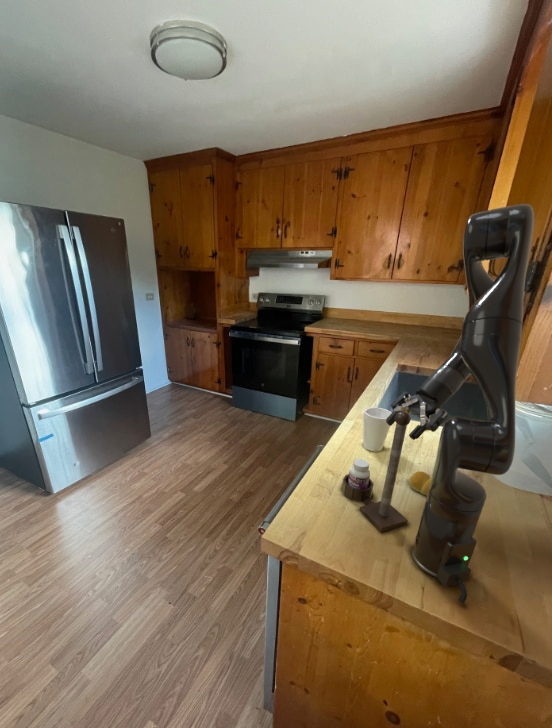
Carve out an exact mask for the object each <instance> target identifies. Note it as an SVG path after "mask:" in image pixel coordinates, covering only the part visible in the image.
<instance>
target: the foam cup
mask: <svg viewBox="0 0 552 728" xmlns="http://www.w3.org/2000/svg"><path fill="white" fill-rule="evenodd" d="M392 412H393V411H390V410H388V409H386V408H384V407H383V408H382V407H376V406H375V407H374V406H373V407H367V408H364V410H363V415H362V418H363V419H362V420H363V423H362V425H363V427H362V429H363V431H362V433H363V434H362V444H363V445H362V446H363V448H365V449H366V450H368V451H370V452H381V451H382V450H383V449H384V446H385V443H386V440H387V437H388V434H389V432H390V428H391V426H390V425H388V424H387V423H386V419H387V418H388V417H389V416H390V414H391V413H392Z"/></svg>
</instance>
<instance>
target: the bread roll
mask: <svg viewBox="0 0 552 728" xmlns="http://www.w3.org/2000/svg"><path fill="white" fill-rule="evenodd" d="M431 479H432V476H430V475H429V474H428V473H427V472H425V471H416V472H414V473H412V474H411V475H409V477H408V478H407V483H408V485H409V486H410V487H411V489H413V490H414V491H416V492H418V493H421V494H422V495H424V496H426V497H427V494H428V490H429V487H430V483H431Z"/></svg>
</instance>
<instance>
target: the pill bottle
mask: <svg viewBox="0 0 552 728" xmlns="http://www.w3.org/2000/svg"><path fill="white" fill-rule="evenodd" d="M348 472H349V473H348V474H349V478H348V485H349V486H351V487H353V488H355V489H361V490H364V489H368V483H369V478H370V479H371V471H370V463H369V462H368V461H367V460H366V459H363V458H356V459H354V460H353V464H352V466H351V467H350V468H349V471H348Z"/></svg>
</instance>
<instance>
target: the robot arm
mask: <svg viewBox="0 0 552 728" xmlns="http://www.w3.org/2000/svg"><path fill="white" fill-rule="evenodd" d="M534 228H535V212H534V209H533V207H532V205H531V204H528V203H519V204H513V205H508V206H502V207H497V208H494V209H493V208H492V209H488V210H482V211H478V212H475V213H472V214H471V215H470V216H469V217H468V218H467V220H466V222H465V226H464V229H463V235H462V258H463V267H464V273H465V274H464V275H465V282H466V286H467V287H466V289H467V294H468V311H467V312H466V314H465V315H464V318H463V320H462V327H461V333H460V334H461V335H460V336H459V339H458V341H457V343H456V345H455V347H454V349H453V350H452V351H451V354H450V355H449V356H448V357H447V358H446V359H445V360H444V361H443V362H442V363H441V365H440V366H439V367H438V368H436V369H435V370H433V372H432V373H431V374H430V375H429V376H428V377H427V379H425V380H424V382H423V383H422V384H421V385H420V386H419V387H418V388H417V390H416V393H415V394H414V395H410V394H409V392H407V391H404V392H402V393H401V394H400V395H399V396H398V397H397V398H396V399H395V400H394V401H392V403H391V404H390V408H391V409H392V411H391V412H392V413H391V414H390V416H389V417H388V418H387V419H386V423H387V424H388V425H390V427H391V426H393V425H394V424H395V423H396V422H395V416H396V414H397V413H399V412H406V413H408V414H409V415H410V414H412V415H414V416H416V417H417V418H418V419H419V420H420V421H419V424H417V425H416V426H415V427H414V428H413V429H412V430H411V432H410V433H409V434H408V436H409V438H410V439H411V440H413V441H415V440H418V439H419V438H420V437H422V435H423V434H424V433H425V432H426V431H430V432H432V433H435V432H436V431H437V430H438V429H439V428H440V427H441V425H442V424H443V423H444V424H443V426H442V427H441V428H442V429H441V431H440V435H439V439H438V447H437V453H436V456H435V457H436V458H435V460H434V461H435V462H434V465H433V470H432V474H431V477H432V479H431V483H430V487H429V490H428V494H427V496H426V497H425V498H426V499H425V501H424V506H423V510H422V514H421V517H420V521H419V525H418V529H417V533H416V535H415V538H414V541H413V543H414V544H413V547H412V551H411V556H412V559H413V561H414V563H415V564H416V565H417V567H418V568H420V569H421V570H422V571H423V572H425V573H426V574H428V575H430V576H432V577H433V578H435V579H437V581H438V582H440V583H441V584H442V586H444V588H448V587H452V586H456V585H458V588H459V589H460V595H459V596H458V598H457V601H458V602H459V603H461V604H464V603H465V601H467V598H468V591H467V588H466V585H465V583H467V582H468V580H469V577H470V574H471V572H472V569H471V568H470V567H469V566H470V563H471V559H472V557H473V554H474V551H475V549H476V546H477V543H478V541H477V539H476V538H475V537H474V535H475V531H476V528H477V526H478V523H479V520H480V518H481V514H482V512H483V509H484V506H485V503H486V501H487V491H486V489H485V488H484V486H483V485H482V484H481V483H480V482H479V481H478V480H476V479H475V478H473V477H472V476H470V475H468V474H466V473H464V472H463V471H461V470H466V471H473V472H477V473H483V474H489V475H494V476H503V475H505V474H506V473H507V472H508V471H509V470H510V468H511V466H512V464H513V461H514V456H515V451H516V388H517V387H516V386H517V376H518V367H519V366H518V365H519V357H520V351H521V344H522V333H523V320H524V319H523V317H524V298H525V287H526V276H527V270H528V266H529V265H528V263H529V260H530V254H531V253H530V252H531V246H532V241H533V234H534ZM501 259H506V261H505V264H504V266H503V267H502V269H501V271H500V272H499V274H498V275H497V277H496V278H495V279H493V277H491V276H490V275H489V273H488V272H487V270H486V269H485V267H484V265H483V262H484V261H492V260H493V261H494V260H501ZM470 376H472V378H473V379H474V381H475V382H476V384H477V386H478V388H479V389H480V392H481V393H482V396H483V398H484V402H485V406H486V413H487V420H482V419H474V418H467V417H459V416H451V417H449V413H448V412H447V410H446V409H445V408H443V407H444V405H446V404H447V402H448V401H449V400H450V399H451V398H452V397H453V396H454V395H455V394H456V393H457V392H458V390H459V389H460V388H461V386H462V385H463V384H464V382H465V381H466V380H467V379H468V378H469V377H470ZM433 415H434V416H433ZM431 416H433V417H432V418H431ZM448 417H449V418H448ZM447 418H448V419H447ZM459 469H461V470H459Z"/></svg>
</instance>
